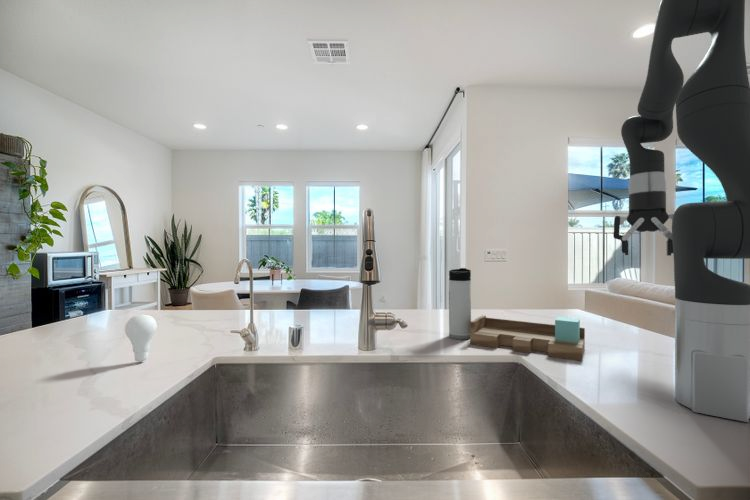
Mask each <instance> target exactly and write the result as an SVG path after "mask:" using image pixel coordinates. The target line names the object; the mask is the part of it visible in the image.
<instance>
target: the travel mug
mask: <svg viewBox="0 0 750 500" xmlns="http://www.w3.org/2000/svg"><path fill="white" fill-rule="evenodd" d="M471 271H472V270H471V269H468V268H466V267H460V268H455V269H450V270H448V276H449V278H448V336H449V337H450V338H451V339H452V340H453V339H454V340H462V341H463V340H464V341H465V340H470V322H471V321H472V279H471V277H472V275H471V274H472V272H471Z"/></svg>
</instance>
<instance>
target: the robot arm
mask: <svg viewBox="0 0 750 500" xmlns="http://www.w3.org/2000/svg"><path fill="white" fill-rule="evenodd" d="M659 3H660V4H659V6H658V11H657V14H656V18H655V24H654V31H653V34H652V35H653V37H652V43H651V47H650V53H649V55H650V56H649V59H648V60H649V61H648V67H647V75H646V78H645V83H644V85H643V90H642V92H641V94H640V99H639V101H638V104H637V113H638V115H633V116H631V117H628V118H627V119H625V121H624V122H623V123H622V125H621V128H620V129H621V130H620V131H621V132H620V133H621V137H622V141H623V144H624V145H625V149H626V151H627V155H628V160H629V181H628V215H627V216H619V215H616V216H615V217H614V222H613V223H614V225H613V239H615V240H619V241H620V242H621V253H622V254H624V255H625V256H629V240H628V239H629V238H630V237H631V236H632V235H633V234H634V233H635V232H638V233H643V232H650V233H652V232H653V233H654V232H657V231H658V232H660V233H661V234H662V235H663V236H664V237H665V238H666V239H667V240H666V256H669V257H670V256H672V254H673V269H674V270H673V272H674V273H673V276H674V277H673V279H674V280H673V281H674V311H675V312H674V398H675V400H676V402H678V403H679V404H681V406H685V407H687V408H688V409H690V410H691V411H692V412H693V413H699V414H703V415H707V416H714V417H718V418H723V419H729V420H735V421H738V422H745V423H749V422H750V420H749V419H750V284H749V283H746V282H742V281H738V280H735V279H733V278H728V277H724V276H722V275H720V274H718V273H716V272H714V271H712V270H711V269H709V268H708V267H707V266H706V262H705V259H706V260H707V259H710V260H711V259H715V260H717V259H720V260H721V259H724V260H727V259H729V260H732V259H733V260H734V259H735V260H736V259H737V260H742V259H743V260H746V259H750V80H749V74H748V68H747V67H748V66H747V59H746V58H747V57H746V47H745V19H746V18H745V14H746V13H745V12H746V11H745V10H746V7H745V6H746V0H660V2H659ZM705 33H709V34H710V37H711V41H710V42H711V44H710V47H709V49H708V51H707V52H706V54H705V56H704V57H703V59H702V61H700V63H699V64H698V66H697V67H696V68H695V70H694V71H693V73H691V75H690V76H689V78H688V79H687V80H686V82H685V84H684V81H685V78H684V77H685V75H684V73H683V70H682V68H681V65H680V64H679V62H678V61H677V59H676V57H675V56H674V53H673V51H672V44H673V41H674V39H678V38H683V37H690V36H694V35H699V34H705ZM674 108H675V116H676V117H675V119H676V132H677V136H678V138H679V140H680V141H681V143H682V144H683V146H685V147H686V149H688V150H689V151H690V152H691V153H692V155H694V156H695V157H696V158H698V159H699V160H700V162H702V163H703V164H704V165H705V166H706V167H708V168H709V170H710V171H712V173H713V174H714V175H715V176H716V177H717V179H718V181H719V182H720V184H721V186H722V189H723V192H724V195H725V198H726V200H723V201H721V200H720V201H719V200H718V201H703V202H701V201H700V202H688V203H683V204H680V205H679V206H678V207H677V208H676V209H675V211H674V213H673V214H671V213H670V214H668V212H667V182H666V181H667V179H666V175H665V153H664V152H663V151H662V150H659V149H653V148H652V149H650V148H645V147H644V146H643V144H648V143H659V142H662V141H664V140H666V139H667V138H669V137H670V136H671V134H672V133H673V131H674V130H673V129H674ZM668 220H671V231H670V230H669V229H668V228H667V227H666V226H665V225H664V224H665V223H666V222H667V221H668ZM625 221H627V223H628V224H629V225H630V226H631V227H630V228H629V229H628V230H627V231H626V232H625V234H624V235H623V234H622V235H621V234H620V228H621V227H620V226H621V225H624V222H625Z"/></svg>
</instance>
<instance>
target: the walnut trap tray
mask: <svg viewBox="0 0 750 500" xmlns="http://www.w3.org/2000/svg"><path fill="white" fill-rule="evenodd" d="M585 333H586V331H585V327H580V339H579V342H578V343H575V342H567V341H559V340H555V324H551V323H541V322H532V321H524V320H523V321H522V320H513V319H503V318H494V317H487V316H486V315H481V316H478V317H477V318H475V319H473V320H471V322H470V339H469V343H470V344H469V345H473V346H479V347H480V346H481V347H486V348H487V347H488V348H493V349H498V348H499V347H500V346H505V347H511V348H512V350H513V352H521V353H525V354H531V353H532V352H533V351H537V352H545V353H547V356H548V357H552V358H553V357H554V358H561V359H566V360H570V361H571V360H572V361H577V362H579V361H580V362H583V358H584V353H585V351H586V350H585V349H586V348H585V347H586V346H585V343H586V342H585V341H586V338H585V335H586V334H585Z"/></svg>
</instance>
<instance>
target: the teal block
mask: <svg viewBox="0 0 750 500" xmlns="http://www.w3.org/2000/svg"><path fill="white" fill-rule="evenodd" d="M580 321H581V319H580V318H576V317H567V316H566V317H565V316H556V317H555V320H554V325H555V340H559V341H567V342H575V343H578V342H579V339H580V328H581V327H580V325H581V324H580Z"/></svg>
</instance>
